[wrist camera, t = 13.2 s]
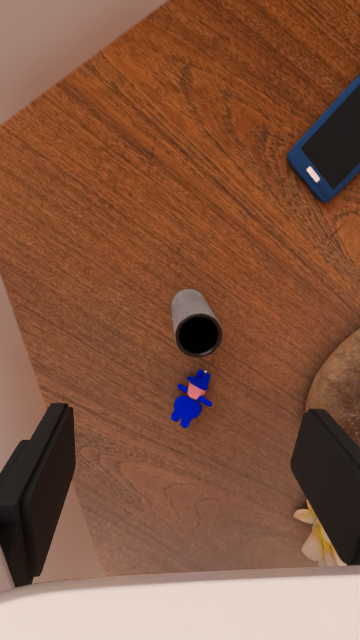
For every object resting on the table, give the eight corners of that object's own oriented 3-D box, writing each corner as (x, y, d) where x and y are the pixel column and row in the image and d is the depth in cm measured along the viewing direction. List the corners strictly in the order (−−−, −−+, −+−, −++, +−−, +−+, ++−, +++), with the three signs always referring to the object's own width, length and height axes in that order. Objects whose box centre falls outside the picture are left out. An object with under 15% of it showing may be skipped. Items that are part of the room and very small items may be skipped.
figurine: (168, 406, 41) (169, 429, 36) (183, 361, 39) (186, 378, 34) (199, 412, 41) (203, 435, 37) (215, 368, 39) (222, 387, 35)
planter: (167, 292, 35) (170, 318, 25) (203, 285, 35) (219, 309, 25) (174, 325, 37) (179, 362, 27) (208, 318, 37) (225, 353, 27)
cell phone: (283, 157, 31) (286, 155, 30) (386, 43, 28) (392, 38, 27) (322, 205, 33) (326, 205, 32) (423, 103, 30) (429, 100, 29)
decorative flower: (395, 507, 48) (434, 582, 40) (343, 531, 54) (367, 601, 45) (330, 470, 46) (356, 541, 37) (282, 499, 51) (295, 566, 42)
